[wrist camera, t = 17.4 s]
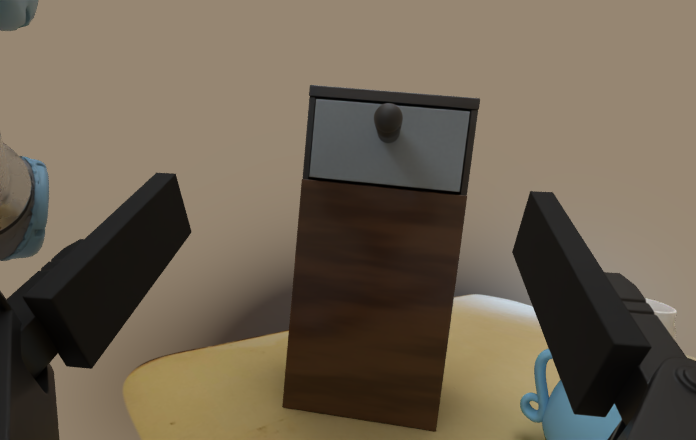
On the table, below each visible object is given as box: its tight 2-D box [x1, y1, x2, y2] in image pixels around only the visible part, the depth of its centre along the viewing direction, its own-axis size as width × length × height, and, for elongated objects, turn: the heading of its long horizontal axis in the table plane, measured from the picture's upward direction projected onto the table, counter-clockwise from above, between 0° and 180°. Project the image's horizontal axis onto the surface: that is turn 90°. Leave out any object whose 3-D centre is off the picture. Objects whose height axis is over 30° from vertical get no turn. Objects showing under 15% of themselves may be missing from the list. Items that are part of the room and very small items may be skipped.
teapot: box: [520, 349, 622, 440], centre depth 33 cm, size 20×20×13 cm
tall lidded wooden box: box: [283, 85, 480, 431], centre depth 44 cm, size 10×16×33 cm, turn 84°
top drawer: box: [309, 99, 470, 192], centre depth 36 cm, size 20×14×7 cm
